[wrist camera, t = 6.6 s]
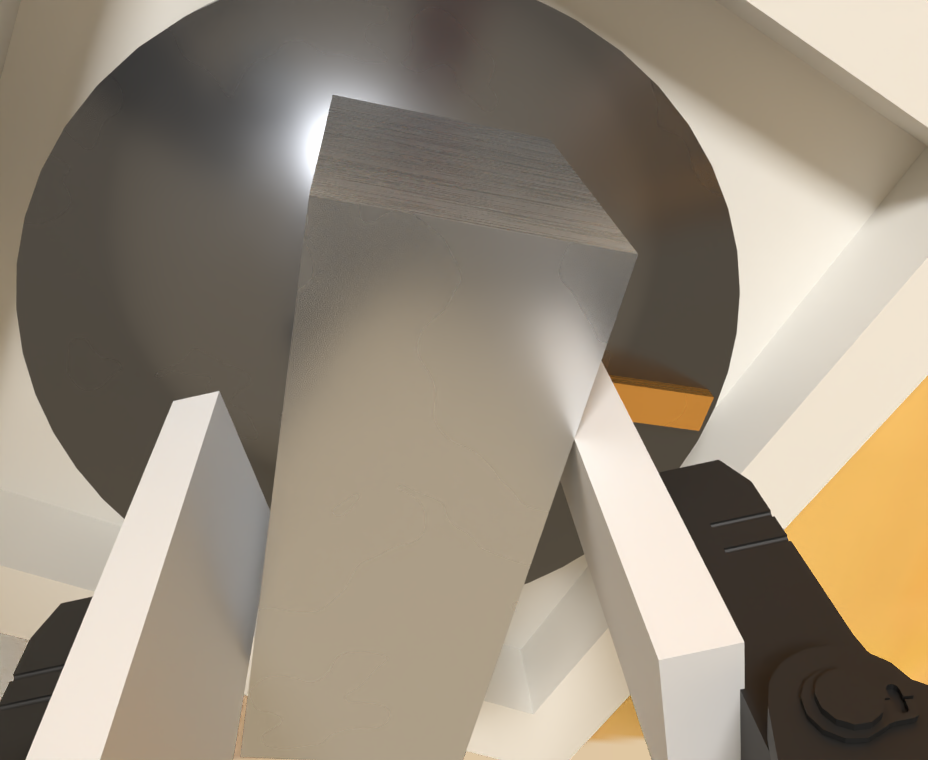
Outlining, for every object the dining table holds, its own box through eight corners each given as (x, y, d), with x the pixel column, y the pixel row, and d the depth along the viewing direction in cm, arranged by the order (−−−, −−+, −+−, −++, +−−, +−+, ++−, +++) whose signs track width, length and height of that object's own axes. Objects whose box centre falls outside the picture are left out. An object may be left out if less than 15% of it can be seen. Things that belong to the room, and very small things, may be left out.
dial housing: (-174, 454, 19) (-313, 591, 15) (50, -647, 10) (-131, -961, 7) (534, 668, 25) (562, 801, 21) (1015, 88, 17) (1198, 139, 13)
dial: (64, 528, 18) (-84, 822, 12) (36, -133, 12) (-299, -176, 6) (597, 577, 20) (685, 842, 15) (810, 55, 14) (1111, 154, 8)
